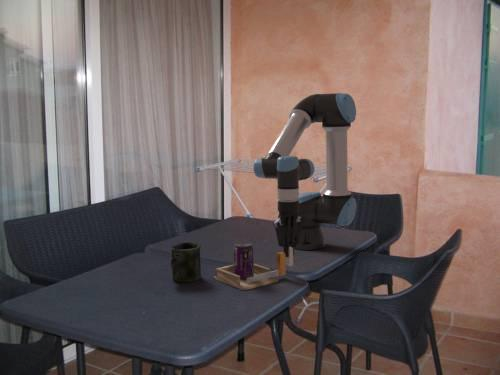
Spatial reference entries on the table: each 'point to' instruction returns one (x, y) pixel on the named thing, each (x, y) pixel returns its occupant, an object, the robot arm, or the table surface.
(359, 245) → the table surface
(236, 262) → the beverage can
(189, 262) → the mug
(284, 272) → the lock bar
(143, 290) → the table surface
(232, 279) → the wooden tray
